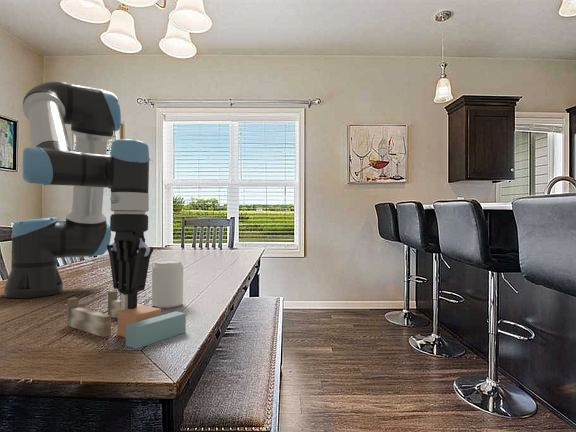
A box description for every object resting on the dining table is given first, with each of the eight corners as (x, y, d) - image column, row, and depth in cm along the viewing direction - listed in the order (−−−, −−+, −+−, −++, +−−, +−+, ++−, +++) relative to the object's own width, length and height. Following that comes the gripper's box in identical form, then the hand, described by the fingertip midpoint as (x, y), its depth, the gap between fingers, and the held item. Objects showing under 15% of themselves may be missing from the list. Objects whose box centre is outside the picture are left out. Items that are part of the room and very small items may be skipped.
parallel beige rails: (67, 325, 82) (67, 298, 82) (113, 314, 91) (113, 290, 91) (103, 337, 75) (104, 307, 75) (150, 324, 84) (150, 297, 84)
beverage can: (173, 310, 96) (174, 264, 96) (145, 308, 98) (146, 263, 98) (188, 302, 104) (188, 260, 104) (161, 301, 106) (162, 259, 106)
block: (117, 335, 76) (117, 310, 76) (142, 327, 81) (142, 305, 81) (135, 340, 73) (135, 315, 73) (160, 332, 78) (160, 308, 78)
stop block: (125, 345, 70) (126, 324, 70) (175, 329, 80) (176, 311, 80) (135, 349, 68) (135, 327, 68) (185, 332, 78) (185, 313, 78)
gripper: (95, 212, 79) (94, 322, 79) (132, 213, 73) (131, 333, 72) (126, 213, 86) (125, 314, 86) (164, 213, 79) (162, 323, 79)
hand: (128, 323), depth 79 cm, fingers closed
